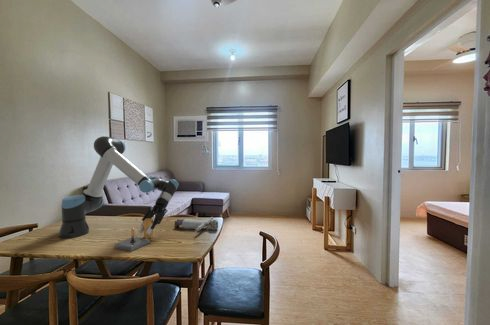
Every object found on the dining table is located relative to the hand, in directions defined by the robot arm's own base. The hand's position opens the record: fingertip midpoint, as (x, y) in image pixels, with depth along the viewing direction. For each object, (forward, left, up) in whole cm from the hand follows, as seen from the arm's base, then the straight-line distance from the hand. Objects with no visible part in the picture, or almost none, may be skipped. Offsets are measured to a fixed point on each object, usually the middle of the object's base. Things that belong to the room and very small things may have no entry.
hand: (143, 233), depth 131 cm
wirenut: (0, +4, -3) cm, 5 cm away
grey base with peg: (+2, -9, -3) cm, 10 cm away
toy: (+18, +28, -4) cm, 33 cm away
